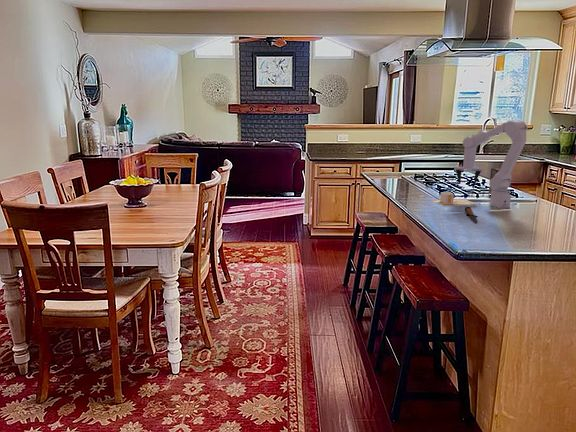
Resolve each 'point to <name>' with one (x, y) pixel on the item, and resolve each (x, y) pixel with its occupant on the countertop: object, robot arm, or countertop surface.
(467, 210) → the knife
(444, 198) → the slotted knob
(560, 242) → the countertop surface
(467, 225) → the countertop surface
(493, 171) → the coffee box
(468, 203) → the shaft board
